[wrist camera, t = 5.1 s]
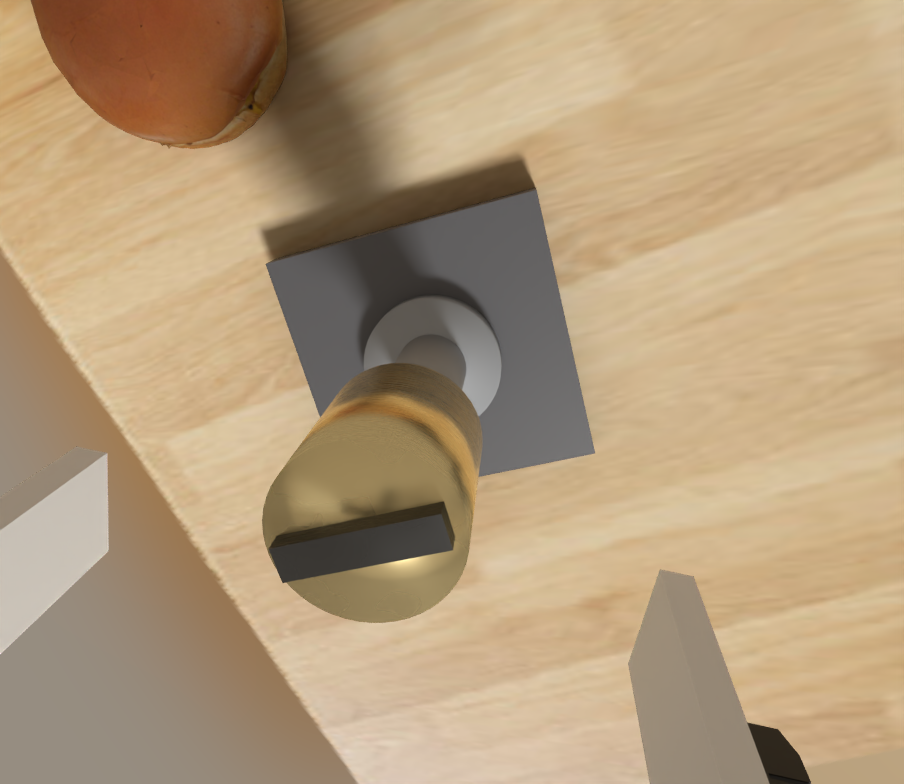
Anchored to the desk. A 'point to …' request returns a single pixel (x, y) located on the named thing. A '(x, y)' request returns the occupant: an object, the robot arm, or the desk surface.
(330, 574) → the cap
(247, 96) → the burger
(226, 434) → the desk surface
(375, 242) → the post block
